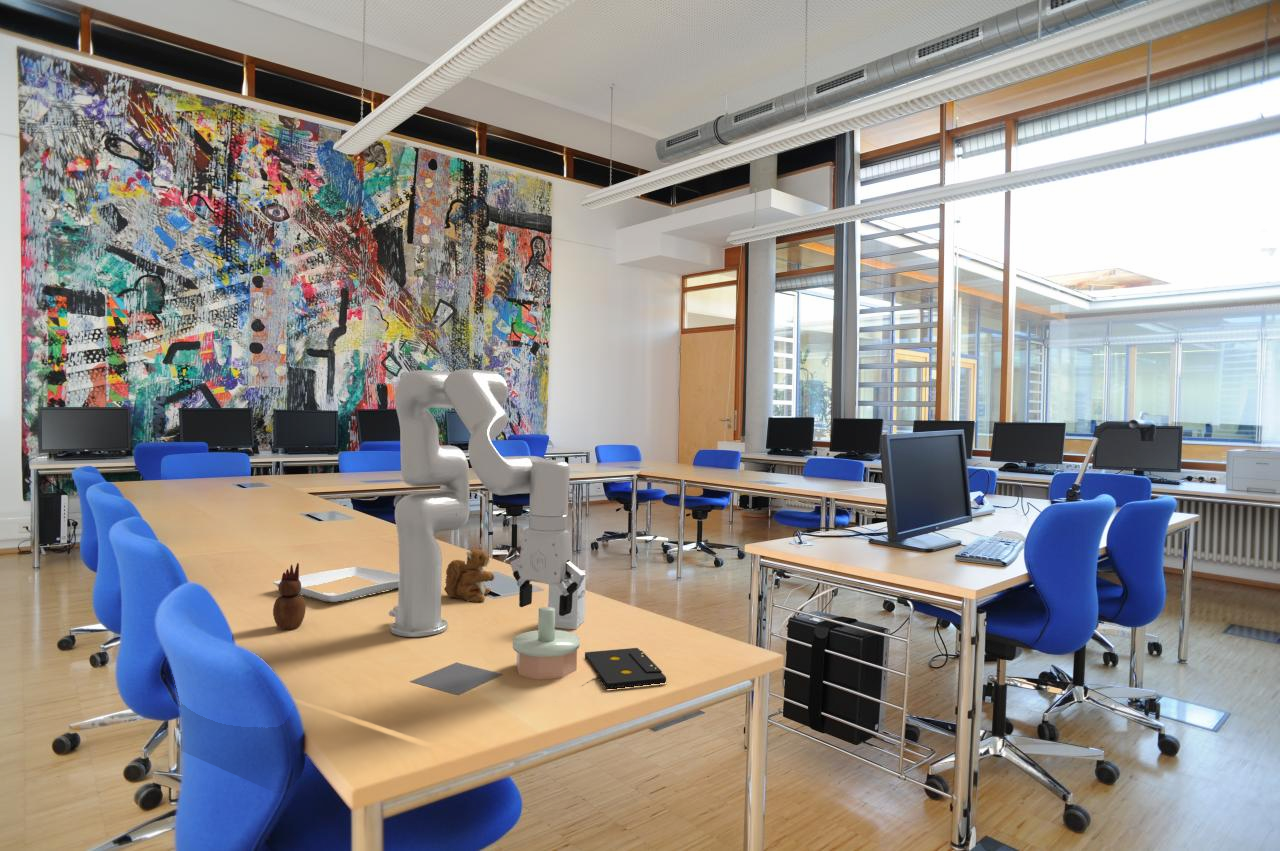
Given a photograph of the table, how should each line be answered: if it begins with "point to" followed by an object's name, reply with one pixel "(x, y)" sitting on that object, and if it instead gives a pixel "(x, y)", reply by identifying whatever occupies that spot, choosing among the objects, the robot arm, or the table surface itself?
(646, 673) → the cassette tape
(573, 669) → the bowl
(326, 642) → the table surface
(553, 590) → the supplement box
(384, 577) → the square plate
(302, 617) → the wooden figurine
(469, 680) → the mat
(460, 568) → the stuffed squirrel
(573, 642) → the lid
